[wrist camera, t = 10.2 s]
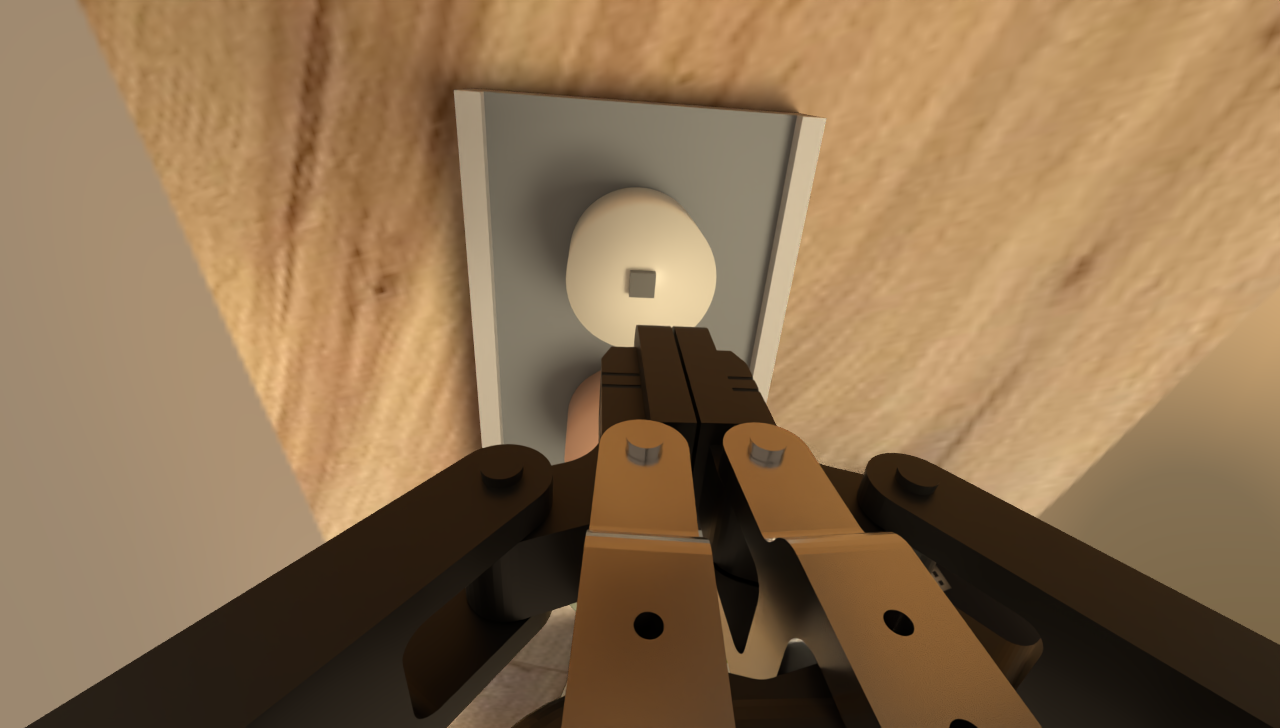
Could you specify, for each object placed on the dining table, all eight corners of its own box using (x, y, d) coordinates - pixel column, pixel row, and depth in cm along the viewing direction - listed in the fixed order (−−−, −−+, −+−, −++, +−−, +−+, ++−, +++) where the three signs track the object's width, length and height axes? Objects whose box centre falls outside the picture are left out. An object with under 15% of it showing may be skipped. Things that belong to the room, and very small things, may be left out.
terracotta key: (568, 364, 22) (564, 408, 19) (686, 367, 22) (700, 411, 19) (567, 459, 24) (563, 512, 21) (674, 460, 25) (685, 512, 22)
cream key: (570, 182, 19) (565, 203, 16) (708, 191, 19) (728, 212, 16) (569, 313, 21) (564, 351, 18) (692, 317, 21) (707, 356, 18)
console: (470, 88, 19) (453, 90, 17) (800, 113, 20) (826, 118, 18) (502, 570, 30) (495, 610, 28) (713, 568, 31) (723, 607, 29)
